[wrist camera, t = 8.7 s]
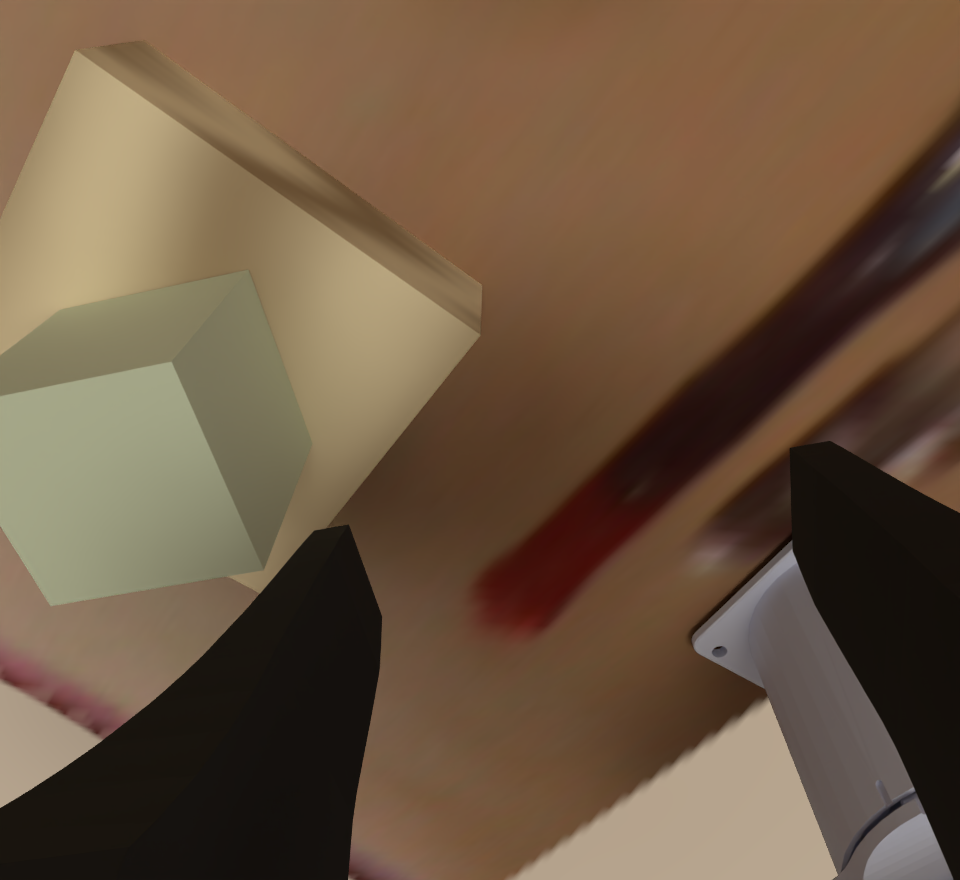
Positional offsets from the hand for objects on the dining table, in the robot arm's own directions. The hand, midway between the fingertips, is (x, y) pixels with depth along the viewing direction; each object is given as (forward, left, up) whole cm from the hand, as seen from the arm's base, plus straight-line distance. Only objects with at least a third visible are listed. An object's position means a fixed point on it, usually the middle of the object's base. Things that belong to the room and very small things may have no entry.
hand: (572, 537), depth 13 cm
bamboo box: (+7, +5, -11) cm, 14 cm away
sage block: (+7, +5, -7) cm, 11 cm away
